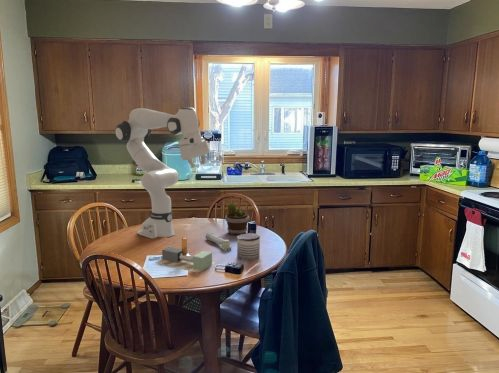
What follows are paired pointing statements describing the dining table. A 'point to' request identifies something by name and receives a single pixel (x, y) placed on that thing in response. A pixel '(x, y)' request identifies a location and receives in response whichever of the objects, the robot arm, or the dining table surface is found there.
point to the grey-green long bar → (219, 241)
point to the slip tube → (185, 252)
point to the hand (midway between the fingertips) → (198, 165)
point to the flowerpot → (236, 220)
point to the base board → (181, 265)
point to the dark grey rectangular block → (171, 254)
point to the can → (248, 246)
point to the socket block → (202, 260)
